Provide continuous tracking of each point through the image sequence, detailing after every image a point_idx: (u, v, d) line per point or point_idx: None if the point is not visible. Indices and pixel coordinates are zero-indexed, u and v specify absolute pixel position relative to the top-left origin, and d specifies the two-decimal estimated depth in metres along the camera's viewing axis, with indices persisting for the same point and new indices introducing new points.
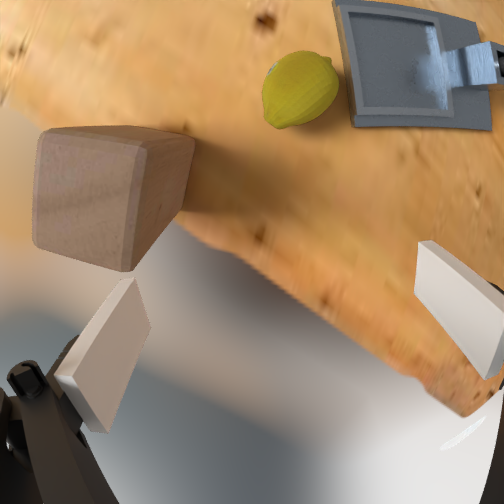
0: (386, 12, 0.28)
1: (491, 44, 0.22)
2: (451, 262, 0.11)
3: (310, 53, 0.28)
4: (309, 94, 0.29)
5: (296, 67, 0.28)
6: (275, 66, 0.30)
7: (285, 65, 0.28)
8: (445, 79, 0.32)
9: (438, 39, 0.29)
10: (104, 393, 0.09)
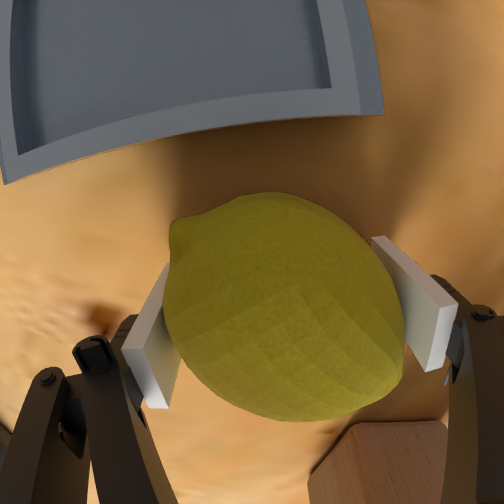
0: (4, 49, 0.08)
1: None
2: (397, 256, 0.12)
3: (172, 330, 0.09)
4: (348, 370, 0.08)
5: (240, 400, 0.09)
6: None
7: None
8: None
9: None
10: (165, 368, 0.10)
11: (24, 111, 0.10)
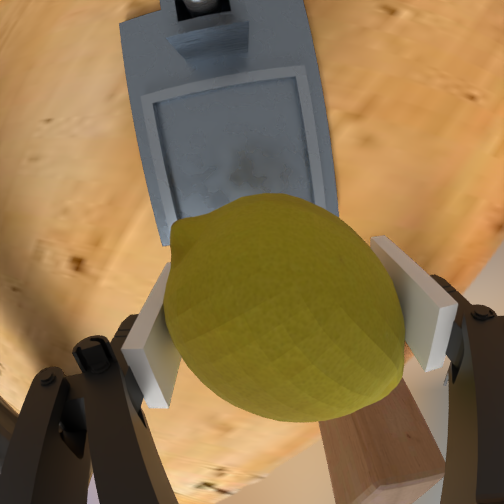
0: (164, 182, 0.28)
1: (170, 33, 0.17)
2: (397, 256, 0.12)
3: (173, 331, 0.09)
4: (348, 371, 0.08)
5: (241, 400, 0.09)
6: None
7: None
8: (246, 80, 0.25)
9: (180, 94, 0.25)
10: (165, 368, 0.10)
11: (178, 213, 0.30)
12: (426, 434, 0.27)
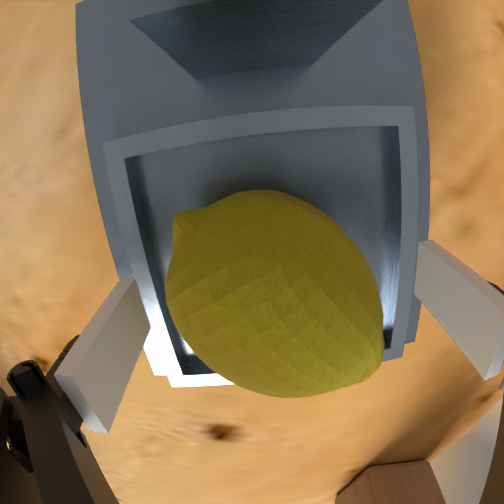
0: (151, 301, 0.16)
1: (146, 6, 0.05)
2: (451, 262, 0.11)
3: (173, 308, 0.11)
4: (327, 346, 0.09)
5: (232, 372, 0.10)
6: None
7: (224, 377, 0.11)
8: (310, 125, 0.13)
9: (177, 144, 0.13)
10: (104, 393, 0.09)
11: (177, 341, 0.18)
12: None
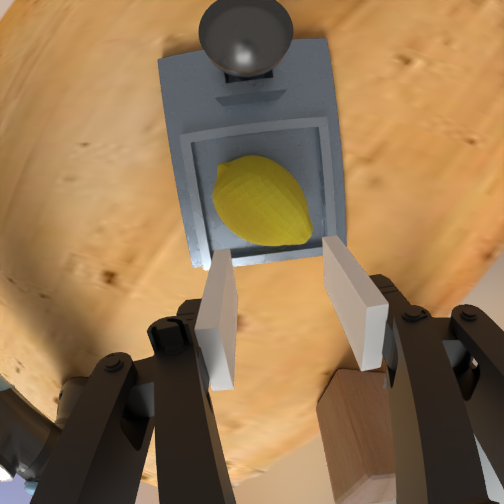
0: (198, 213, 0.33)
1: (219, 94, 0.22)
2: (341, 255, 0.13)
3: (218, 197, 0.27)
4: (277, 206, 0.26)
5: (241, 220, 0.27)
6: (237, 234, 0.29)
7: (237, 229, 0.28)
8: (276, 128, 0.30)
9: (216, 137, 0.30)
10: (230, 349, 0.11)
11: (209, 240, 0.35)
12: None
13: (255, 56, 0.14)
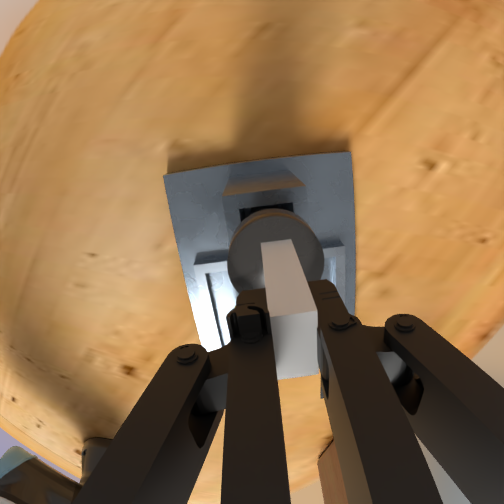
0: (214, 334, 0.34)
1: None
2: (287, 260, 0.13)
3: None
4: None
5: None
6: None
7: None
8: None
9: None
10: None
11: None
12: None
13: None
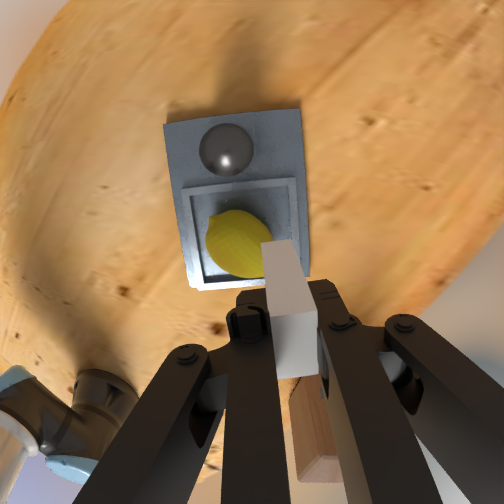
0: (194, 249, 0.44)
1: (209, 174, 0.32)
2: (287, 260, 0.13)
3: (208, 243, 0.38)
4: (250, 253, 0.37)
5: (224, 261, 0.38)
6: (222, 269, 0.40)
7: (222, 266, 0.39)
8: (254, 186, 0.41)
9: (208, 192, 0.41)
10: None
11: (202, 268, 0.46)
12: None
13: (231, 168, 0.28)
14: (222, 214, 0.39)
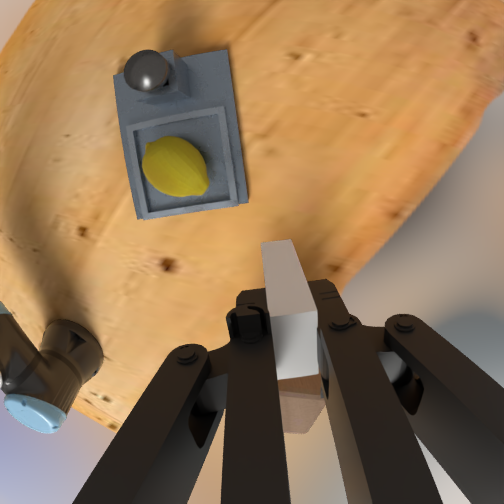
0: (138, 179, 0.45)
1: (137, 98, 0.34)
2: (287, 260, 0.13)
3: (143, 163, 0.39)
4: (177, 166, 0.38)
5: (155, 176, 0.39)
6: (157, 189, 0.42)
7: (155, 184, 0.40)
8: (188, 117, 0.42)
9: (149, 126, 0.42)
10: None
11: (147, 199, 0.47)
12: None
13: (148, 83, 0.30)
14: (157, 139, 0.40)
